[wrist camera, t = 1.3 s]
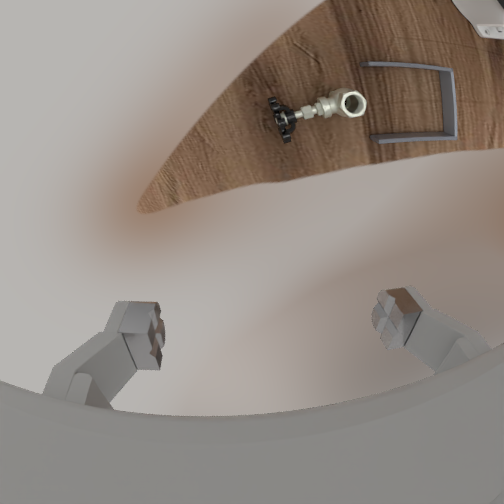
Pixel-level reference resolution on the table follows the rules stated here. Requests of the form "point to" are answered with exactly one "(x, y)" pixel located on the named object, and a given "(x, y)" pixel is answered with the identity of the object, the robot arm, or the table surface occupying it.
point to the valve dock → (447, 103)
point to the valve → (319, 109)
